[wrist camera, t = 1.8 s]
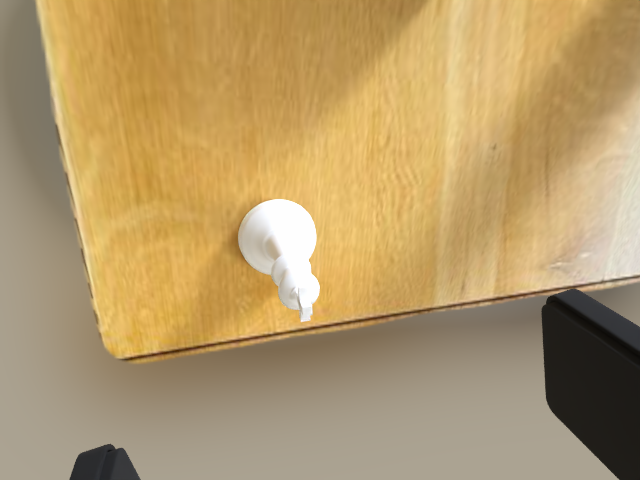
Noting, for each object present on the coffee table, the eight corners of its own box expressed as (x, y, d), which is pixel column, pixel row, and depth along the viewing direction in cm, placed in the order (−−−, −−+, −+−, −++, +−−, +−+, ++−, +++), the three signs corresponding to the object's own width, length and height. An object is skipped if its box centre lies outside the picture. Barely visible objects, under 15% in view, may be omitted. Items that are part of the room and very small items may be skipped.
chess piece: (242, 276, 30) (256, 367, 21) (234, 203, 29) (245, 267, 19) (316, 267, 31) (361, 350, 22) (313, 195, 30) (360, 252, 20)
